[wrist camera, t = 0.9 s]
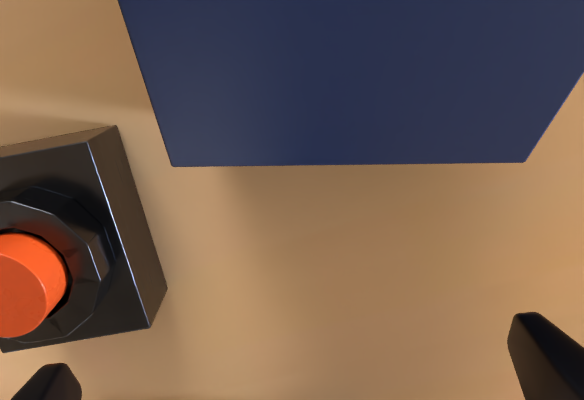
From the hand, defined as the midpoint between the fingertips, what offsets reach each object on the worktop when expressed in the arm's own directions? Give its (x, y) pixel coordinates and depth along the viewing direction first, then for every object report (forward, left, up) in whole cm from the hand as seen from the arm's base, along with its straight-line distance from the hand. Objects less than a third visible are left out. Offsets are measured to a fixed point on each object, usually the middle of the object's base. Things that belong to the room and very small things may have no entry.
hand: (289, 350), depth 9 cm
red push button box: (-2, +12, -17) cm, 21 cm away
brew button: (-2, +12, -11) cm, 17 cm away
